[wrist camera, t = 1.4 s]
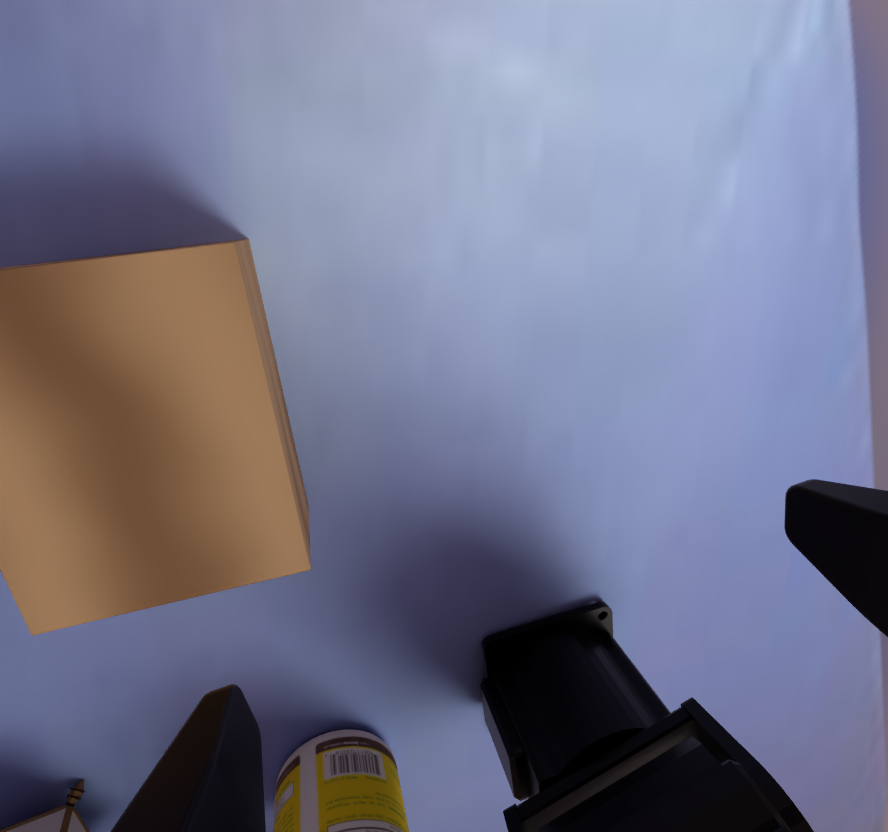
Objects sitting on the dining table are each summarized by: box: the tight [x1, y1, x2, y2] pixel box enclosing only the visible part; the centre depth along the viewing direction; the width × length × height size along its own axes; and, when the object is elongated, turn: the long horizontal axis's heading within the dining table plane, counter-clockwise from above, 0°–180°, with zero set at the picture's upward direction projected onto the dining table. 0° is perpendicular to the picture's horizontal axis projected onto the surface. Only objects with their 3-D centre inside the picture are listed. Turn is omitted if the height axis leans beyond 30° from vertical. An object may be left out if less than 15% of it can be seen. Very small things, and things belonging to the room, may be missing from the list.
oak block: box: [0, 239, 311, 635], centre depth 17 cm, size 8×10×4 cm
